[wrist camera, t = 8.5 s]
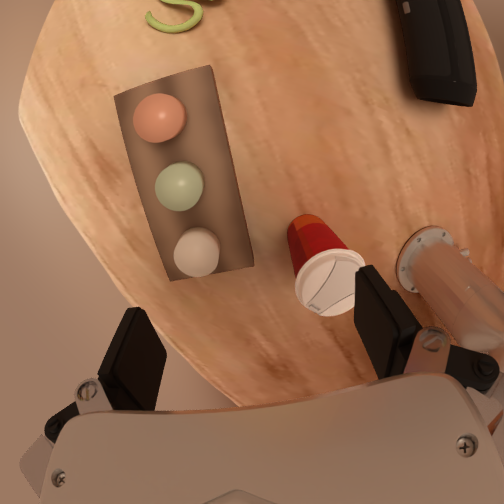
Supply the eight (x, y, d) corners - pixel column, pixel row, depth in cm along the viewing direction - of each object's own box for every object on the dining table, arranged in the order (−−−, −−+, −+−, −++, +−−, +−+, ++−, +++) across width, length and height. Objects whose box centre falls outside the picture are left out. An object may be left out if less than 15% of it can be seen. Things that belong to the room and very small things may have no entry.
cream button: (214, 223, 33) (211, 232, 30) (224, 261, 35) (223, 272, 33) (172, 232, 33) (167, 241, 30) (185, 268, 35) (181, 280, 33)
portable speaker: (369, -45, 18) (397, -71, 9) (421, -29, 18) (455, -46, 9) (397, 97, 30) (440, 97, 21) (447, 105, 30) (492, 110, 21)
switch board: (212, 69, 28) (210, 64, 26) (253, 255, 40) (254, 266, 37) (123, 97, 29) (113, 96, 26) (174, 270, 41) (169, 281, 38)
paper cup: (305, 266, 41) (330, 330, 29) (267, 235, 39) (280, 295, 26) (343, 229, 39) (385, 283, 26) (307, 194, 36) (341, 238, 24)
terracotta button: (181, 89, 25) (176, 86, 23) (191, 133, 28) (186, 134, 25) (137, 103, 26) (128, 103, 23) (147, 146, 28) (139, 148, 26)
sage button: (198, 156, 30) (195, 159, 28) (209, 198, 32) (206, 205, 30) (156, 167, 30) (149, 171, 28) (168, 207, 33) (162, 215, 30)
